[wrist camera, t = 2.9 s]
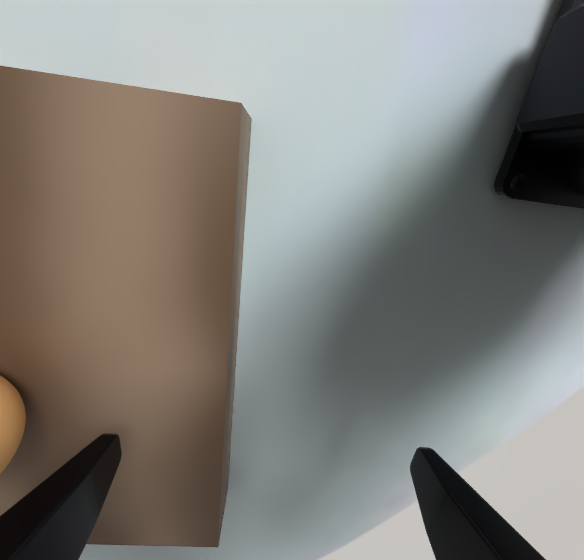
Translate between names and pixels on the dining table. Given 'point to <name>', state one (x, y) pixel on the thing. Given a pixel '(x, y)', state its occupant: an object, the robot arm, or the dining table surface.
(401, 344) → the dining table surface
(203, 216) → the pocket board
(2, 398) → the ball
